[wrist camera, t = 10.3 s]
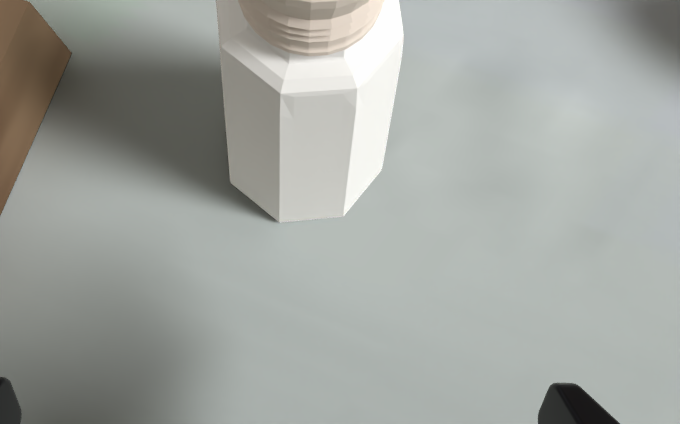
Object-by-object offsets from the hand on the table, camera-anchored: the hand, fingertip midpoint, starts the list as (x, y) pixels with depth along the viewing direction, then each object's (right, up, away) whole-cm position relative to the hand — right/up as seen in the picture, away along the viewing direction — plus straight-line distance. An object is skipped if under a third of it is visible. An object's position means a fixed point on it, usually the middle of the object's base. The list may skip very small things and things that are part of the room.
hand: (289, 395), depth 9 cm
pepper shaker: (0, +5, +9) cm, 11 cm away
